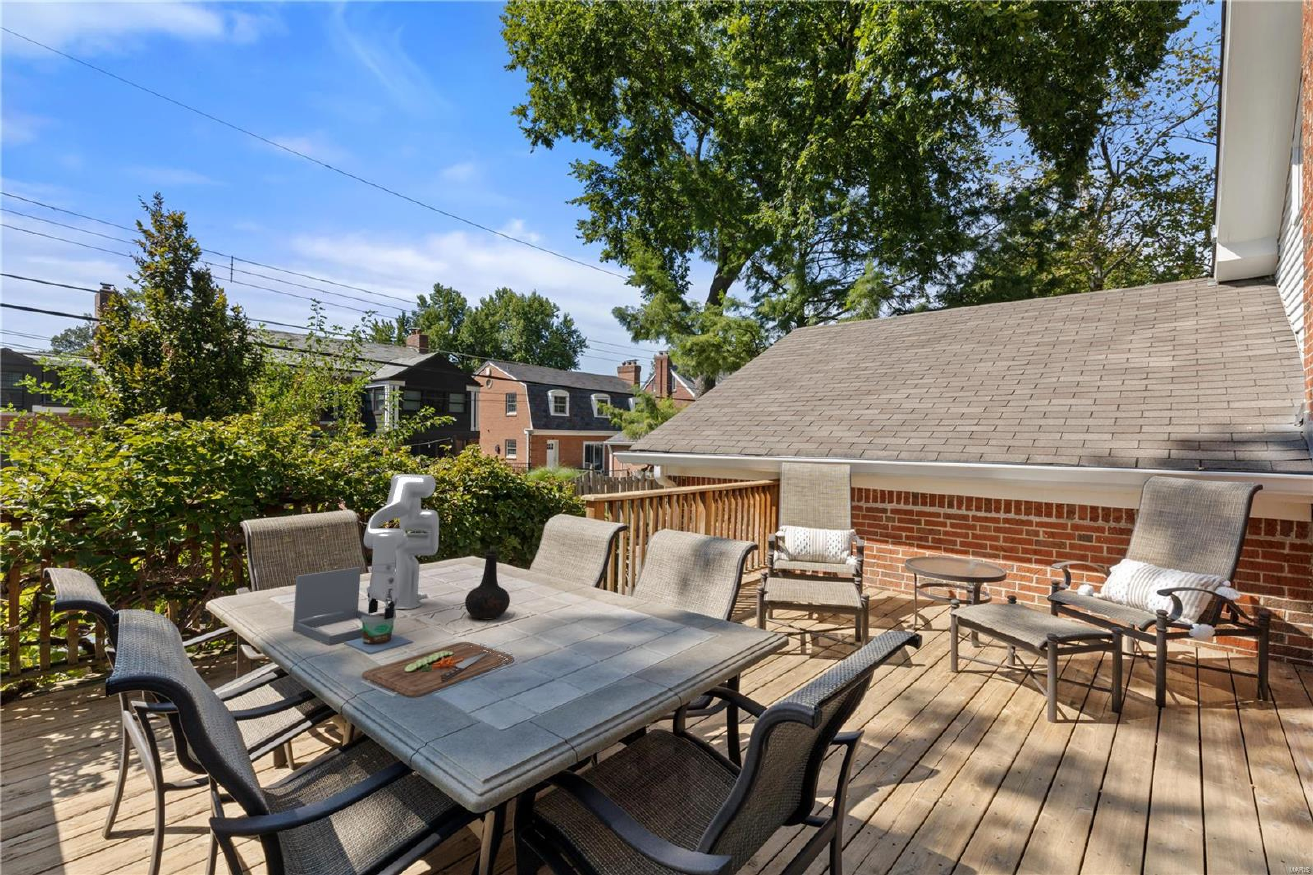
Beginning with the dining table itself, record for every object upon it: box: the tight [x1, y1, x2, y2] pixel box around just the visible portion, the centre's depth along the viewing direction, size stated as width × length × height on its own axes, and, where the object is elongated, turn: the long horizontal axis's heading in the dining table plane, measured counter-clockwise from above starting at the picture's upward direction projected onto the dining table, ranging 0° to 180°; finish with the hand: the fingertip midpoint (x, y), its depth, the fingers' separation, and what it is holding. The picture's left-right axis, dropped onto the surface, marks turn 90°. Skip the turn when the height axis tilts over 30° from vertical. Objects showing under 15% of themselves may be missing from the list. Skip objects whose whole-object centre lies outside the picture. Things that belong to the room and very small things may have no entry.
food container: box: [360, 609, 397, 645], centre depth 206 cm, size 12×6×10 cm, turn 145°
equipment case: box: [292, 566, 395, 646], centre depth 218 cm, size 24×25×20 cm
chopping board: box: [360, 641, 515, 698], centre depth 187 cm, size 45×27×3 cm, turn 148°
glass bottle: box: [464, 548, 511, 619], centre depth 245 cm, size 18×18×28 cm
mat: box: [343, 633, 414, 655], centre depth 206 cm, size 16×16×1 cm
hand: (380, 615), depth 207 cm, fingers open, 9 cm apart
